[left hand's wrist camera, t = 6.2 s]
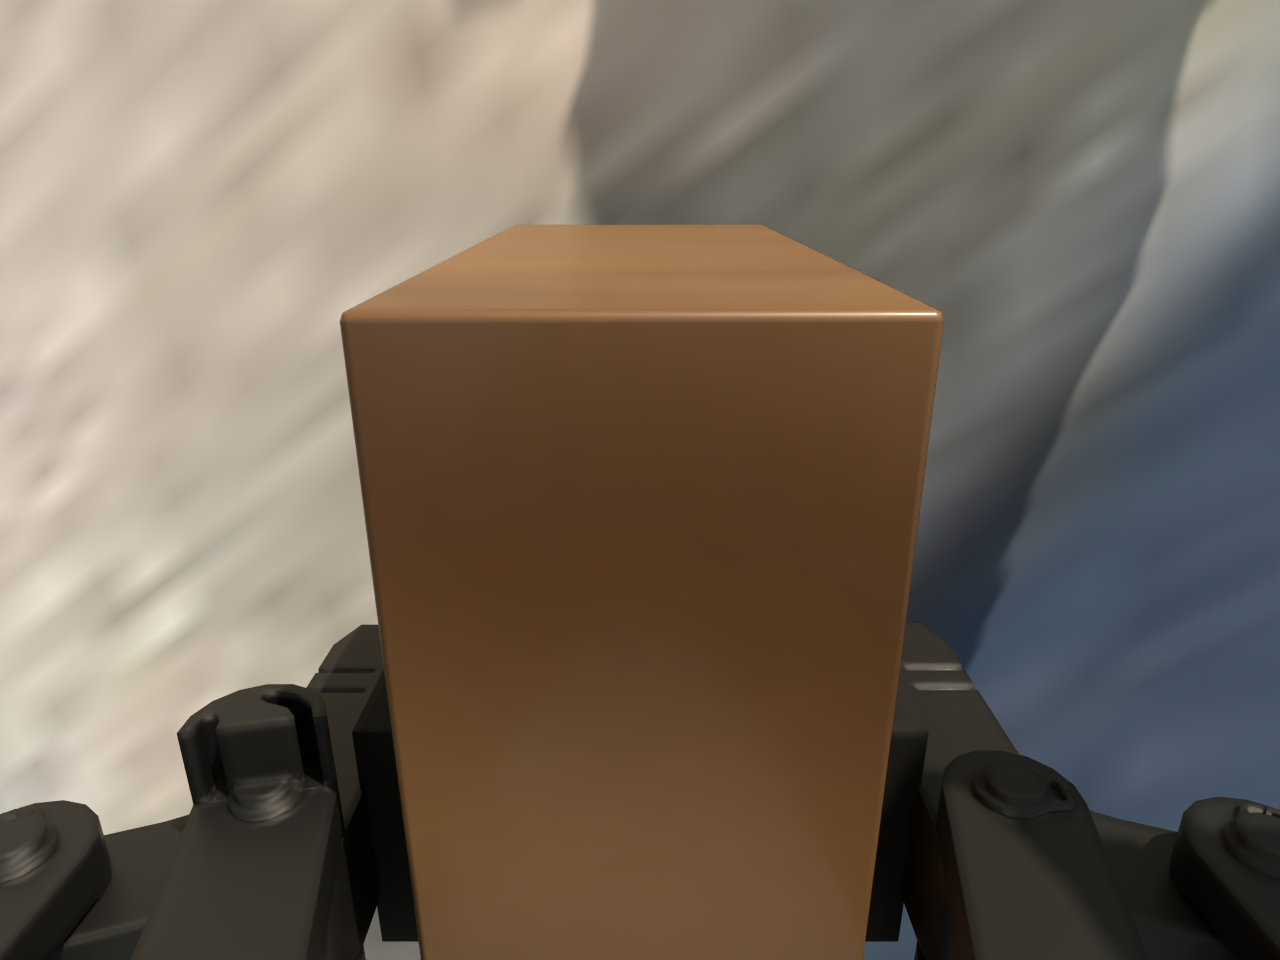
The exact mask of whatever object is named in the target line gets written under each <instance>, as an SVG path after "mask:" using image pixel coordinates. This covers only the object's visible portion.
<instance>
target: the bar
mask: <svg viewBox="0 0 1280 960" xmlns="http://www.w3.org/2000/svg"><path fill="white" fill-rule="evenodd" d="M943 324H944V319H943V316H942V312H941V311H939V310H936V309H934V308H932V307H930V306H928V305H926V304H924V303H922V302H920V301H918V300H916V299H914V298H912V297H910V296H908V295H905V294H903V293H901V292H899V291H897V290H895V289H893V288H891V287H889V286H887V285H885V284H883V283H881V282H879V281H877V280H875V279H872V278H870V277H868V276H866V275H864V274H862V273H860V272H858V271H856V270H854V269H852V268H850V267H848V266H846V265H844V264H842V263H839V262H837V261H835V260H833V259H831V258H829V257H827V256H825V255H823V254H821V253H819V252H817V251H815V250H813V249H811V248H808V247H806V246H804V245H802V244H800V243H798V242H796V241H794V240H792V239H790V238H788V237H786V236H784V235H782V234H780V233H778V232H775V231H773V230H771V229H769V228H767V227H765V226H763V225H515V226H512V227H510V228H508V229H506V230H505V231H503V232H501V233H499V234H497V235H495V236H493V237H491V238H489V239H487V240H485V241H483V242H481V243H479V244H477V245H475V246H473V247H471V248H469V249H467V250H465V251H463V252H461V253H459V254H457V255H455V256H453V257H451V258H449V259H447V260H446V261H444V262H442V263H440V264H438V265H436V266H434V267H432V268H430V269H428V270H426V271H424V272H422V273H420V274H418V275H416V276H414V277H412V278H410V279H408V280H406V281H404V282H402V283H400V284H398V285H396V286H394V287H392V288H390V289H388V290H387V291H385V292H383V293H381V294H379V295H377V296H375V297H373V298H371V299H369V300H367V301H365V302H363V303H361V304H359V305H357V306H355V307H353V308H351V309H349V310H347V311H345V312H343V313H342V316H341V320H340V327H341V334H342V342H343V350H344V358H345V366H346V374H347V382H348V389H349V397H350V405H351V413H352V421H353V429H354V437H355V444H356V452H357V460H358V468H359V476H360V484H361V492H362V500H363V507H364V515H365V523H366V531H367V539H368V547H369V555H370V562H371V570H372V578H373V586H374V594H375V602H376V610H377V617H378V625H379V633H380V641H381V649H382V657H383V665H384V672H385V680H386V688H387V696H388V704H389V712H390V720H391V727H392V735H393V743H394V751H395V759H396V767H397V775H398V782H399V790H400V798H401V806H402V814H403V822H404V830H405V838H406V845H407V853H408V861H409V869H410V877H411V885H412V893H413V900H414V908H415V916H416V924H417V932H418V940H419V948H420V955H421V960H863V954H864V946H865V938H866V931H867V923H868V915H869V907H870V899H871V891H872V883H873V875H874V867H875V860H876V852H877V844H878V836H879V828H880V820H881V812H882V804H883V797H884V789H885V781H886V773H887V765H888V757H889V749H890V741H891V733H892V726H893V718H894V710H895V702H896V694H897V686H898V678H899V670H900V663H901V655H902V647H903V639H904V631H905V623H906V615H907V607H908V599H909V592H910V584H911V576H912V568H913V560H914V552H915V544H916V536H917V529H918V521H919V513H920V505H921V497H922V489H923V481H924V473H925V465H926V458H927V450H928V442H929V434H930V426H931V418H932V410H933V402H934V394H935V387H936V379H937V371H938V363H939V355H940V347H941V339H942V331H943Z"/></svg>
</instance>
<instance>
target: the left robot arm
mask: <svg viewBox="0 0 1280 960" xmlns="http://www.w3.org/2000/svg"><path fill="white" fill-rule="evenodd" d="M177 736H178V741H179V745H180V749H181V753H182V758H183V762H184V766H185V770H186V775H187V779H188V783H189V787H190V792H191V796H192V800H193V804H194V805H193V807H192V810H191V812H190V814H189V815H186V816H183V817H180V818H176V819H173V820H169V821H166V822H162V823H157V824H153V825H149V826H144V827H140V828H135V829H131V830H126V831H122V832H117V833H113V834H108V835H103V831H102V828H101V824H100V821H99V817H98V815H96V814H95V813H94V812H93V811H92V810H91V809H90V808H89V807H88V806H87V805H85V804H80V803H75V802H70V801H65V800H62V801H53V802H43V803H34V804H31V805H28V806H25V807H21V808H18V809H14V810H11V811H9V812H6V813H2V814H0V960H366V959H365V952H364V946H363V943H364V941H365V938H366V935H367V932H368V929H369V926H370V924H371V921H372V918H373V915H374V912H375V910H376V907H378V914H379V921H380V928H381V935H382V941H419V940H418V932H417V924H416V916H415V908H414V900H413V893H412V885H411V877H410V869H409V861H408V853H407V845H406V838H405V830H404V822H403V814H402V806H401V798H400V790H399V782H398V775H397V767H396V759H395V751H394V743H393V735H392V727H391V720H390V712H389V704H388V696H387V688H386V680H385V672H384V665H383V657H382V649H381V641H380V633H379V625H361V626H359V627H358V628H356V629H355V630H354V631H352V632H351V633H350V634H348V635H347V636H345V637H344V638H343V639H341V640H340V641H339V642H337V643H336V644H334V645H333V647H332V648H331V650H330V652H329V653H328V655H327V656H326V658H325V659H324V661H323V663H322V664H321V666H320V667H319V673H316V674H315V675H314V677H313V678H312V680H311V681H310V683H309V685H308V686H307V688H304V687H300V686H297V685H293V684H267V685H262V686H258V687H253V688H248V689H243V690H239V691H236V692H234V693H232V694H229V695H227V696H224V697H222V698H219V699H217V700H215V701H212V702H211V703H209V704H208V705H206V706H205V707H204V708H202V709H201V710H199V711H198V712H196V713H195V714H193V715H192V716H190V718H189V719H188V720H187V721H186V723H185V724H184V725H183V726H182V728H181V729H180V730H179V731H178V733H177ZM903 904H905V907H906V909H907V912H908V915H909V918H910V921H911V924H912V926H913V929H914V932H915V935H916V938H917V946H916V952H915V959H914V960H1280V810H1278V809H1275V808H1272V807H1269V806H1267V805H1266V806H1265V805H1262V804H1259V803H1256V802H1252V801H1249V800H1244V799H1234V798H1225V797H1214V798H1209V799H1204V800H1199V801H1195V802H1194V803H1193V804H1192V805H1191V806H1190V807H1189V808H1188V809H1187V810H1186V811H1185V812H1184V813H1183V816H1182V820H1181V823H1180V827H1179V830H1178V832H1175V831H1170V830H1166V829H1161V828H1157V827H1152V826H1148V825H1143V824H1139V823H1134V822H1130V821H1125V820H1121V819H1117V818H1113V817H1110V816H1106V815H1103V814H1100V813H1096V812H1093V811H1091V810H1089V808H1088V806H1087V804H1086V802H1085V801H1084V799H1083V798H1082V796H1081V795H1080V793H1079V792H1078V790H1077V789H1076V788H1075V786H1074V785H1073V784H1072V783H1070V782H1069V781H1068V780H1067V779H1065V778H1064V777H1063V776H1061V775H1060V774H1059V773H1058V772H1056V771H1055V770H1054V769H1052V768H1050V767H1048V766H1046V765H1044V764H1042V763H1039V762H1037V761H1035V760H1033V759H1031V758H1029V757H1026V756H1022V755H1019V754H1018V752H1017V750H1016V749H1015V747H1014V746H1013V744H1012V743H1011V741H1010V740H1009V738H1008V736H1007V735H1006V733H1005V732H1004V730H1003V729H1002V727H1001V726H1000V724H999V722H998V721H997V719H996V718H995V716H994V715H993V713H992V711H991V710H990V708H989V707H988V705H987V704H986V702H985V701H984V699H983V697H982V696H981V694H980V693H979V691H978V690H975V685H974V683H973V682H972V680H971V679H970V677H969V676H968V674H967V672H966V671H965V670H962V665H961V663H960V662H959V660H958V658H957V657H956V655H955V654H954V652H953V651H952V649H951V647H950V646H949V644H948V643H947V642H946V641H945V640H943V639H942V638H941V637H939V636H938V635H936V634H935V633H934V632H932V631H931V630H929V629H928V628H927V627H925V626H924V625H922V624H921V623H920V622H906V623H905V631H904V639H903V647H902V655H901V663H900V670H899V678H898V686H897V694H896V702H895V710H894V718H893V726H892V733H891V741H890V749H889V757H888V765H887V773H886V781H885V789H884V797H883V804H882V812H881V820H880V828H879V836H878V844H877V852H876V860H875V867H874V875H873V883H872V891H871V899H870V907H869V915H868V923H867V931H866V938H865V941H898V938H899V931H900V925H901V918H902V911H903Z"/></svg>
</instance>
